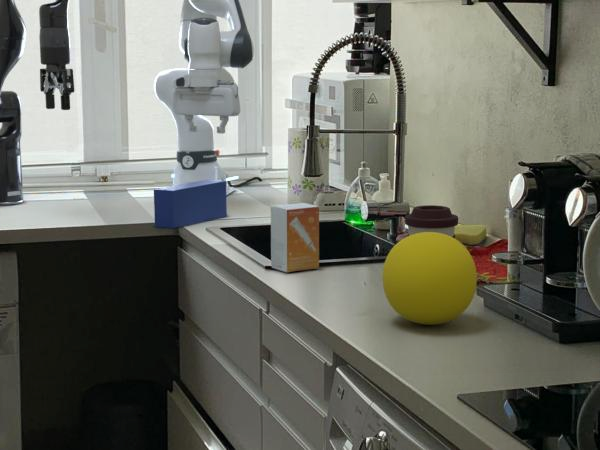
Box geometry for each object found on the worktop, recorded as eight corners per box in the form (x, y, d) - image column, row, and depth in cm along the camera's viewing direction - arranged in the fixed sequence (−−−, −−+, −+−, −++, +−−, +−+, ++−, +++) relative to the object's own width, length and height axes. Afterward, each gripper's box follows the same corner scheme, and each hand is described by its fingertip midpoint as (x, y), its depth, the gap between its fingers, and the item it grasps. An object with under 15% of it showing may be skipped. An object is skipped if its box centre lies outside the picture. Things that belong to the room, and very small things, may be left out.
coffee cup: (400, 280, 202) (400, 204, 200) (450, 279, 203) (451, 203, 201) (409, 292, 193) (410, 212, 190) (462, 291, 193) (463, 211, 191)
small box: (287, 273, 210) (286, 209, 208) (270, 268, 216) (269, 205, 213) (320, 268, 215) (319, 205, 213) (303, 263, 220) (302, 202, 218)
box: (173, 228, 265) (172, 190, 264) (154, 226, 269) (153, 189, 267) (226, 216, 284) (226, 180, 282) (208, 214, 287) (207, 179, 285)
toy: (446, 307, 181) (447, 222, 179) (492, 329, 167) (494, 237, 165) (367, 316, 176) (367, 228, 174) (408, 339, 162) (408, 244, 160)
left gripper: (81, 45, 264) (84, 109, 267) (55, 45, 275) (58, 107, 277) (54, 45, 259) (57, 111, 262) (29, 46, 270) (32, 109, 273)
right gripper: (244, 80, 273) (245, 133, 275) (182, 79, 284) (184, 130, 286) (230, 81, 268) (231, 134, 270) (168, 80, 279) (169, 132, 281)
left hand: (58, 109), depth 270 cm, fingers open, 8 cm apart
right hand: (206, 132), depth 278 cm, fingers open, 8 cm apart
